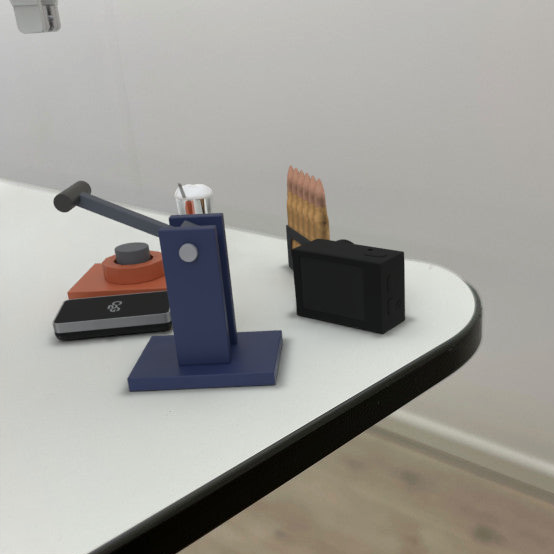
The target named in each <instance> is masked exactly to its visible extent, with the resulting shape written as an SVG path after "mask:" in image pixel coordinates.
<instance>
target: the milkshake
mask: <svg viewBox="0 0 554 554" xmlns="http://www.w3.org/2000/svg"><path fill="white" fill-rule="evenodd" d="M176 183H177V188H176V190H175V192H174V199H175V204H176V207H177V211H178V215H184V214H207V213H214V204H213V203H214V201H213V200H214V198H213V197H214V195H213V194H214V193H213V190H212V188H210V187H209V186H207V185H206V184H203V183H196V184H190V183H187V184H185V185H182V183H181V182H176Z"/></svg>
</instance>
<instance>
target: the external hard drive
mask: <svg viewBox="0 0 554 554" xmlns="http://www.w3.org/2000/svg"><path fill="white" fill-rule="evenodd" d="M172 327H173V326H172V320H171V313H170V307H169V300H168V293H167V291H157V292H146V293H135V294H124V295H113V296H102V297H90V298H79V299H66V300H63V302H62V304H61V305H60V306H59V309H58V311H57V313H56V314H55V316H54V318H53V320H52V328H53V332H54V335H55V338H57V340H60V341H66V340H67V341H68V340H76V339H87V338H99V337H107V336H108V337H109V336H119V335H128V334H139V333H148V332H149V333H150V332H159V331H160V332H161V331H168V330H169V329H171V328H172Z"/></svg>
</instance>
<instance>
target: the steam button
mask: <svg viewBox="0 0 554 554" xmlns="http://www.w3.org/2000/svg"><path fill="white" fill-rule="evenodd" d="M149 250H150V245H149V244H148V243H147V242H142V241H141V242H136V241H135V242H128V243H127V242H126V243H122V244H120V245H117V246H116V247H114V255H116V261H117V264H120V265H134V264H140V263H145V262H147V261H150V260H151V257H150V251H149Z"/></svg>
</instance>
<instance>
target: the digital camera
mask: <svg viewBox="0 0 554 554" xmlns="http://www.w3.org/2000/svg"><path fill="white" fill-rule="evenodd" d="M292 260H293V270H292V272H293V282H294V294H295V295H294V296H295V307H296V315H298V316H302V317H306V318H311V319H315V320H319V321H324V322H329V323H333V324H338V325H343V326H346V327H347V326H348V327H351V328H354V329H355V328H356V329H360V330H363V331H369V332H373V333H376V334H377V333H378V334H383V335H384V334H385V333H386V332H388V331H389V330H391V329H393V328H394V327H396V326H397V325H399V324H400V323H402V322H403V321H405V320H406V279H405V278H406V274H405V273H406V271H405V268H406V267H405V265H406V263H405V252H404V251H403V250H395V249H389V248H383V247H377V246H369V245H363V244H358V243H357V244H356V243H354V242H352V241H351V240H349V239H346V238H345V239H343V238H342V239H341V238H340V239H338V240H337V239H336V240H331V239H330V240H325V239H315V240H313V241H311V242H308V243H306V244H303V245H301V246H298V247H296V248H293V249H292Z"/></svg>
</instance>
